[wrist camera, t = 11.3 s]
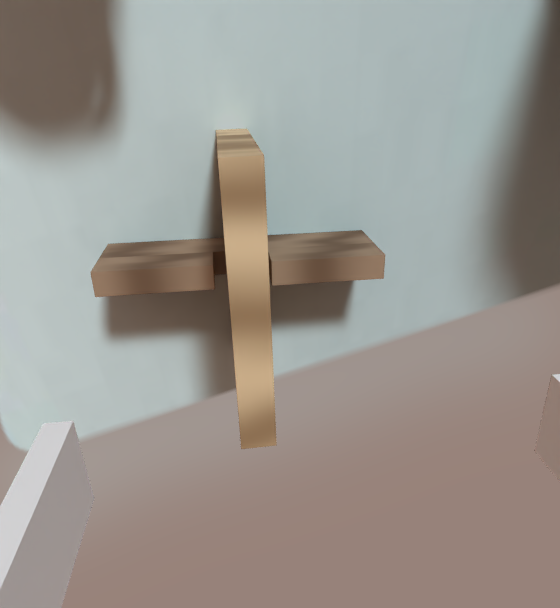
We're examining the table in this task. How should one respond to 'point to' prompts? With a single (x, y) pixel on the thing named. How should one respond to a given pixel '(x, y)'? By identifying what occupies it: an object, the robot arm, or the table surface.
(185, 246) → the standing plate
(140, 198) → the table surface
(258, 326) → the cross plate
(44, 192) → the table surface
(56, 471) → the robot arm
